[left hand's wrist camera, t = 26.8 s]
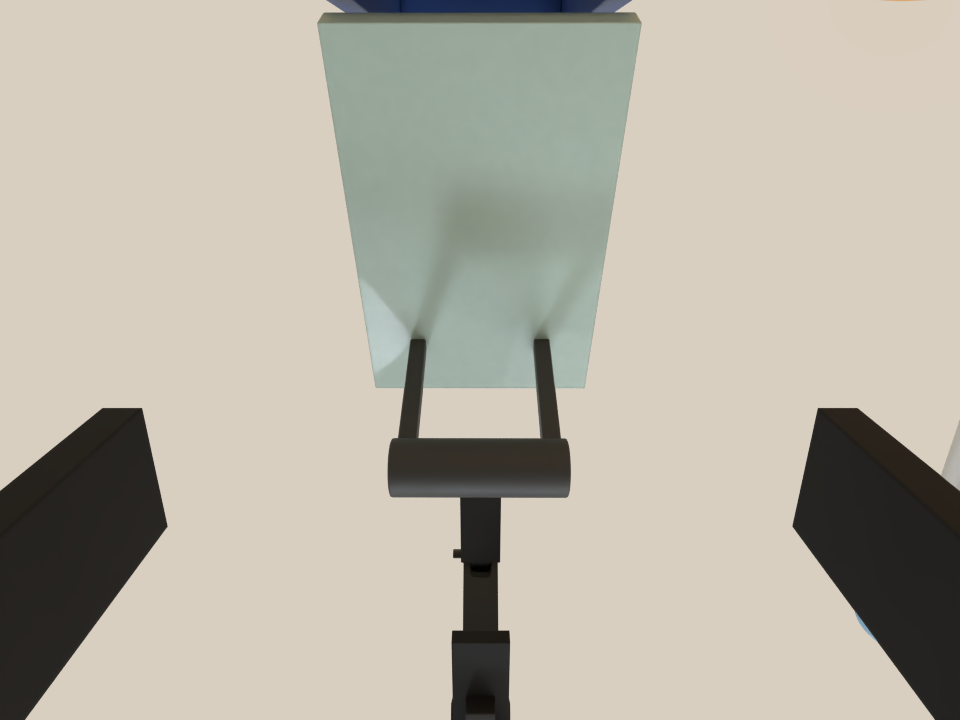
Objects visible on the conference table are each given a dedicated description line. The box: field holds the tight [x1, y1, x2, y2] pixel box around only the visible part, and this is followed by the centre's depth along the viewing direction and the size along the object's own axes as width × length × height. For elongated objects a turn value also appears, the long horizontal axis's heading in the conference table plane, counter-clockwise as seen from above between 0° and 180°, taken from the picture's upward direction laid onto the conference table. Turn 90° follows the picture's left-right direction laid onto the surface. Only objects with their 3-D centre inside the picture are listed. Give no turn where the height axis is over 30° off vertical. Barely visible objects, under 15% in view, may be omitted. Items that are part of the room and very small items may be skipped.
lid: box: [317, 13, 641, 498], centre depth 23 cm, size 16×10×9 cm
